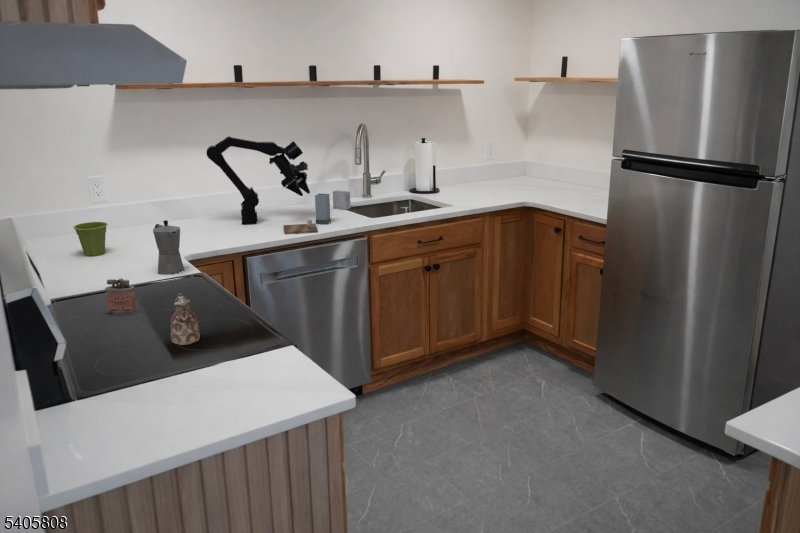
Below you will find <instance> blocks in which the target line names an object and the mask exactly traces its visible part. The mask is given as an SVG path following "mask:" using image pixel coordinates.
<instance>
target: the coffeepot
mask: <svg viewBox="0 0 800 533" xmlns="http://www.w3.org/2000/svg"><path fill="white" fill-rule="evenodd" d="M152 232H153V235H154V240H155V243H156V247H157V250H158V260H157V261H158V262H157V273H158V274H159V273H160V274H159V275H163V274H171V275H176V274H175V273H177V274H179V272H181V273H182V271H183V272H184V271H185V267H184V264H183V260H182V257H181V253H180V252H181V251H180V245H181V244H180V243H181V242H180V240H181V227H180V226H177V225H176V226H175V225H169V220H166V219H165V220H163V224H159V223H156V224H155V226H154V228H153V229H152Z"/></svg>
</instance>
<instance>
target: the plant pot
mask: <svg viewBox="0 0 800 533" xmlns="http://www.w3.org/2000/svg"><path fill="white" fill-rule="evenodd" d="M107 226H108V223H107V222H106V221H91V222H90V221H88V222H82V223H78V224H76V225H73V226H72V227H73V230H75V232H76V235H77V237H78V240H79V243H80V245H81V248H82V251H83V255H84V256H87V257H90V256H92V257H97V256H101V255H103V254H104V253H105V252H106V232H107Z"/></svg>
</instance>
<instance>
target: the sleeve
mask: <svg viewBox="0 0 800 533" xmlns="http://www.w3.org/2000/svg"><path fill="white" fill-rule="evenodd" d="M330 197H331V196H330V193H317V194H315V195H314V204H315V206H314V208H315V224H316V225H325V224H327V225H329V224H330V223H332V217H331V203H330V202H331V201H330ZM329 222H330V223H329ZM328 223H329V224H328Z"/></svg>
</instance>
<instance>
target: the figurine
mask: <svg viewBox="0 0 800 533" xmlns="http://www.w3.org/2000/svg"><path fill="white" fill-rule="evenodd" d="M173 306H174V311H175V312H173V314H172V315H171V318H170V341H171V343H174V344H176V345H179V346H185V345H191V344H193V343H196V342H199V341H200V337H201V335H200V329H199V323H198V317H197V316H196V313H195V312H194V311H193V310H191V300H190V299H189V298H188V297H187V296H185V295H183V293H181V292H179V293H178V294H177V297H176V298H175V299H174V302H173Z"/></svg>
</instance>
